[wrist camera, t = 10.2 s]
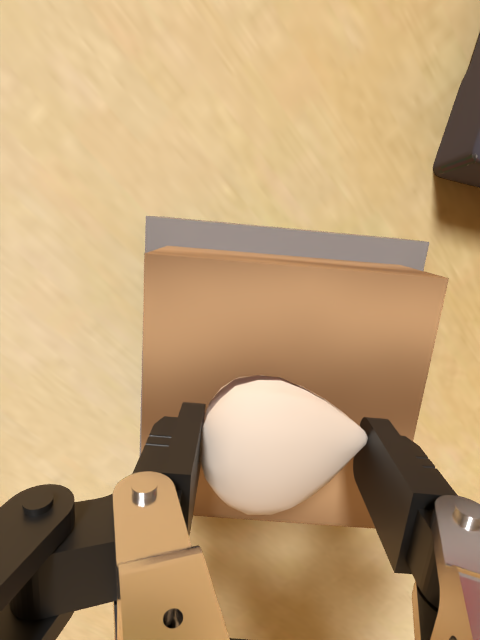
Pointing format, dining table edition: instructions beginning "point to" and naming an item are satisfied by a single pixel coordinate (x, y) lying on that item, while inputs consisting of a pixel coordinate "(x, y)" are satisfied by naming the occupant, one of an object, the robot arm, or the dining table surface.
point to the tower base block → (281, 243)
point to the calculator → (463, 131)
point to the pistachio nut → (273, 444)
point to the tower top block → (288, 346)
